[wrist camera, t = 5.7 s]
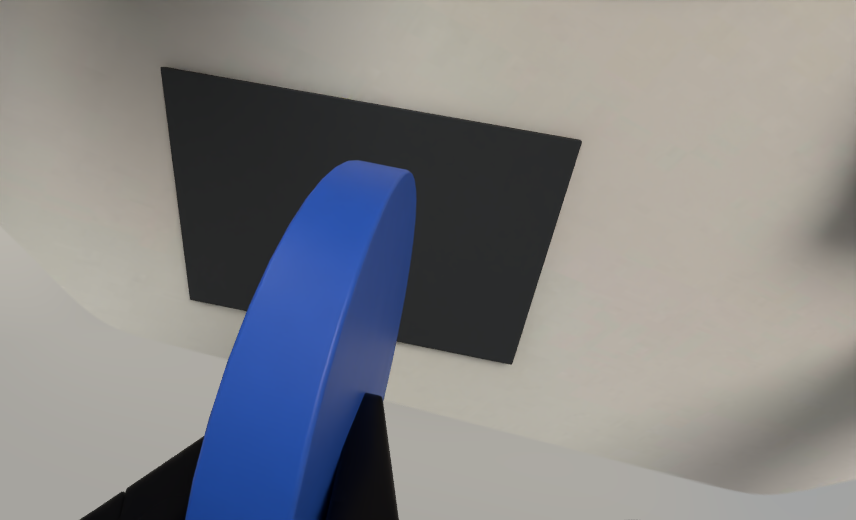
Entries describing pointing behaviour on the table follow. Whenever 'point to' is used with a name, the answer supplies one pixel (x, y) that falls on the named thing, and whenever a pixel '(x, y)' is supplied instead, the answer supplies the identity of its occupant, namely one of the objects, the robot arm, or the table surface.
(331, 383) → the plate
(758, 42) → the table surface
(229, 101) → the mat
